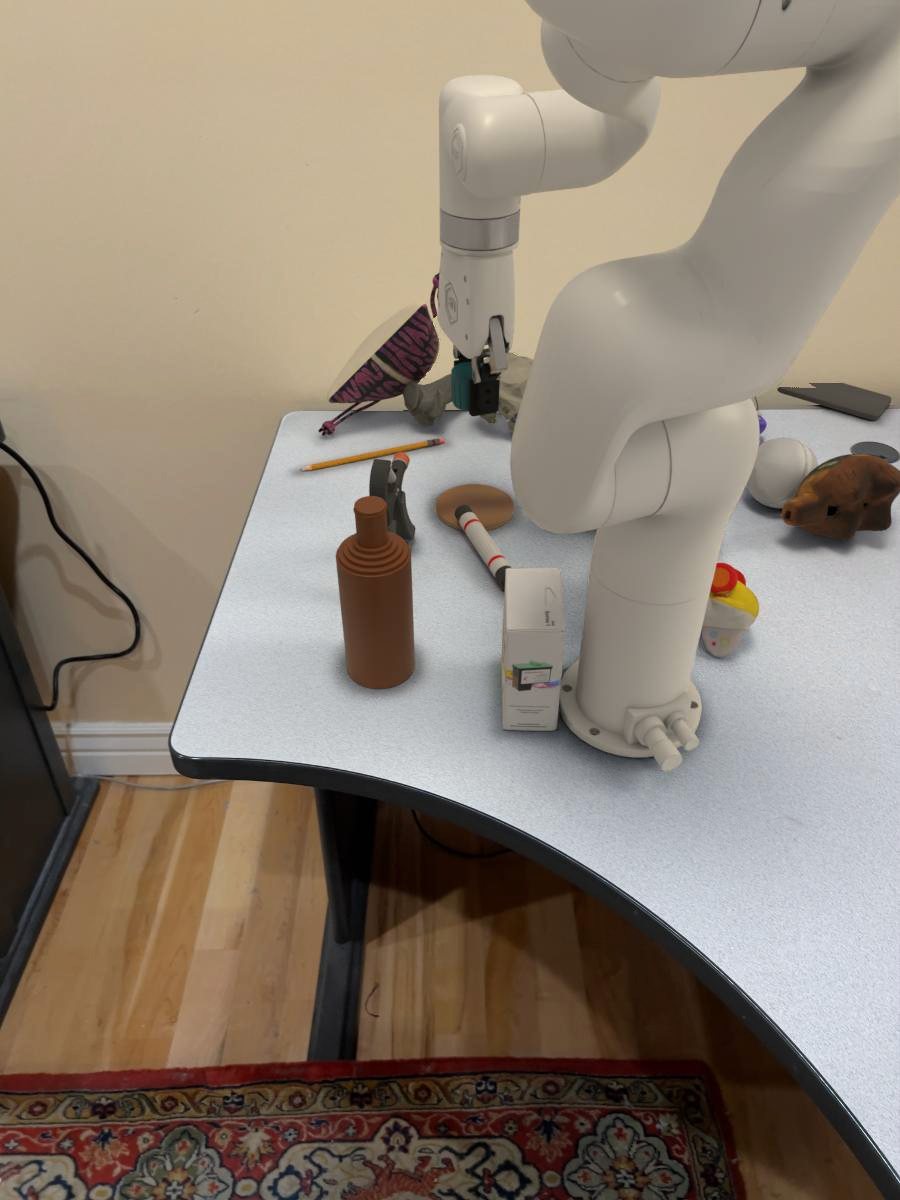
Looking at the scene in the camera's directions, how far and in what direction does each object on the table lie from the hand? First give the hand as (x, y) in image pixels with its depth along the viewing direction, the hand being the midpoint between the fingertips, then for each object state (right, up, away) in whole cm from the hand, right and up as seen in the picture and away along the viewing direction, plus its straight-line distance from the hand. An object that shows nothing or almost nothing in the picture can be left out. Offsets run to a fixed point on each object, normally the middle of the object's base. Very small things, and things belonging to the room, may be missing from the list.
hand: (475, 401), depth 99 cm
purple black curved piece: (-12, +9, +15) cm, 21 cm away
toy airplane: (+26, -23, -13) cm, 37 cm away
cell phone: (+50, +8, +29) cm, 58 cm away
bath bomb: (+32, -6, +5) cm, 32 cm away
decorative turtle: (+41, -13, -2) cm, 43 cm away
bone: (-3, +12, +25) cm, 28 cm away
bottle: (-9, -27, -12) cm, 31 cm away
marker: (+2, -17, +1) cm, 17 cm away
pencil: (-12, -3, +17) cm, 21 cm away
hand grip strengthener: (-9, -18, 0) cm, 20 cm away
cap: (-1, 0, 0) cm, 1 cm away
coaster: (0, -11, +8) cm, 14 cm away
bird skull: (+9, +6, +29) cm, 31 cm away
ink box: (+4, -30, -15) cm, 34 cm away
